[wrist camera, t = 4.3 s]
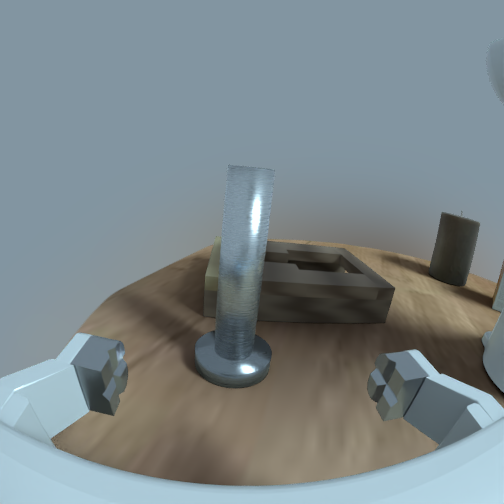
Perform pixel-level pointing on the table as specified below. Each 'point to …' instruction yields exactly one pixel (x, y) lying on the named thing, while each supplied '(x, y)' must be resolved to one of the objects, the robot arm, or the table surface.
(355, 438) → the table surface
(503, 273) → the small box
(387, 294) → the keyhole plate
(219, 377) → the footed peg
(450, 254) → the pillar candle
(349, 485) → the robot arm
